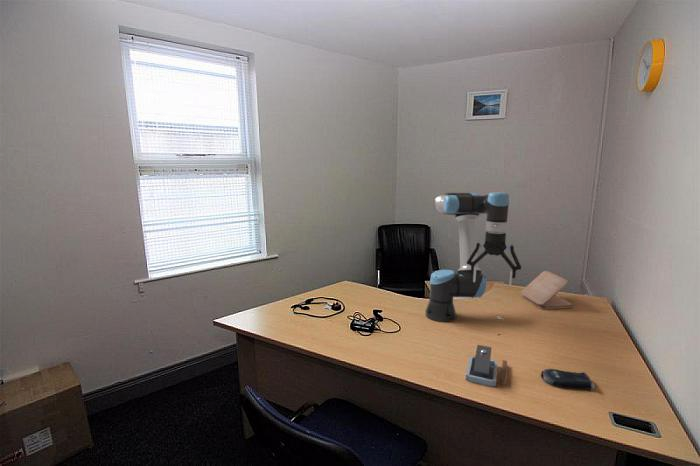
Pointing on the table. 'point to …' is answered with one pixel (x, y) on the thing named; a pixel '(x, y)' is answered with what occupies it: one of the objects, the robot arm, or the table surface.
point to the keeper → (479, 379)
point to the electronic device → (567, 379)
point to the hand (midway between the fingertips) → (491, 283)
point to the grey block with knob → (482, 361)
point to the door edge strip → (504, 372)
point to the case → (546, 291)
